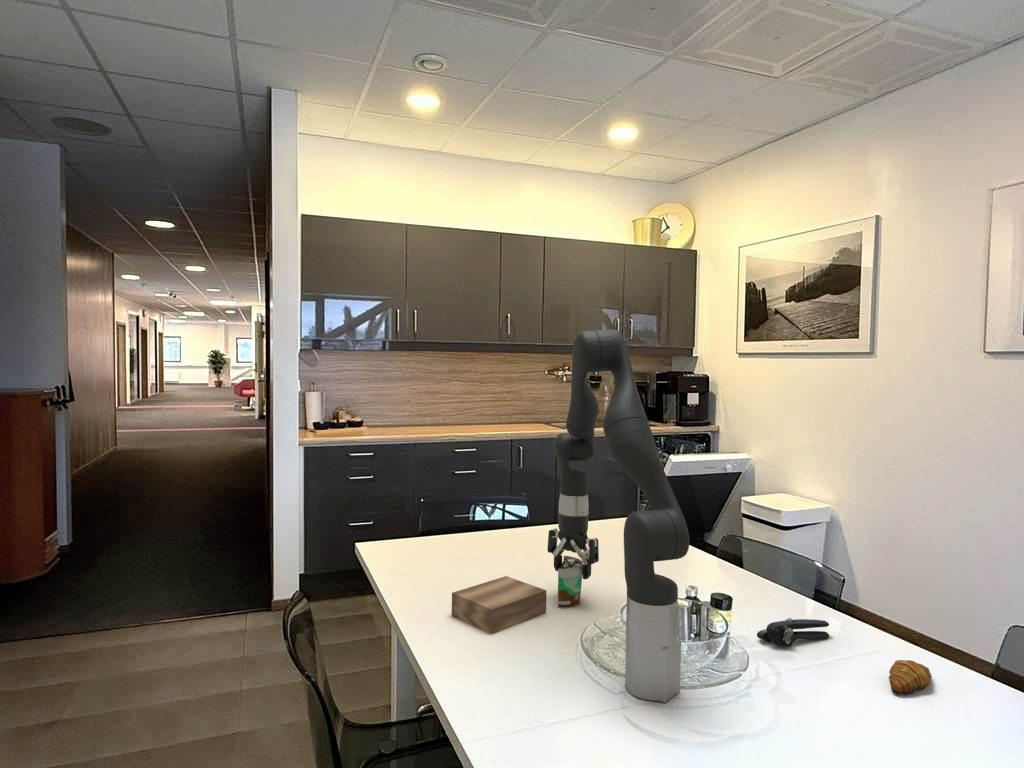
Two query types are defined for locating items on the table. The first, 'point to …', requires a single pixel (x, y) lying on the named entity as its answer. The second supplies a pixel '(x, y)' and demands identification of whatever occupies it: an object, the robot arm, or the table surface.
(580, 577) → the half-round tin
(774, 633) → the can opener
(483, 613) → the brown wooden block
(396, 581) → the table surface
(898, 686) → the croissant
